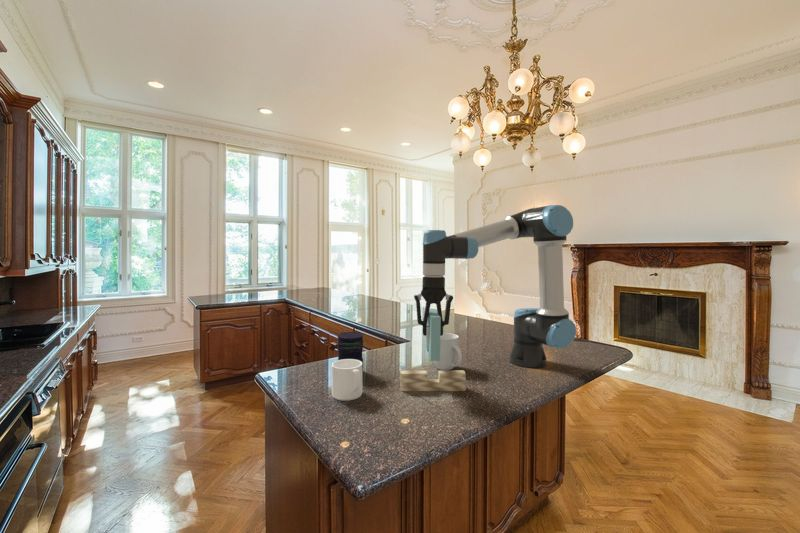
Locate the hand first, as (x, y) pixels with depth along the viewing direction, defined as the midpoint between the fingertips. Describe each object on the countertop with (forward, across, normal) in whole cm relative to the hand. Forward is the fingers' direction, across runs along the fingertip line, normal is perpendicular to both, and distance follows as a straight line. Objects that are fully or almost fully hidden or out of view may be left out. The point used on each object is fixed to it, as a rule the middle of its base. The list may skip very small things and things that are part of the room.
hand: (432, 344), depth 120 cm
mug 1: (+16, +28, +5) cm, 32 cm away
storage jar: (+16, +30, -16) cm, 37 cm away
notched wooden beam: (+15, 0, 0) cm, 15 cm away
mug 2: (+16, -8, -21) cm, 27 cm away
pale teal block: (+3, 0, 0) cm, 3 cm away
